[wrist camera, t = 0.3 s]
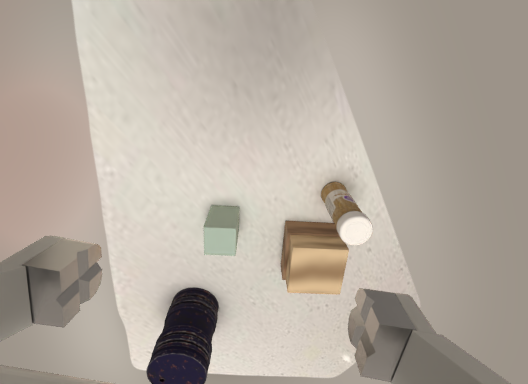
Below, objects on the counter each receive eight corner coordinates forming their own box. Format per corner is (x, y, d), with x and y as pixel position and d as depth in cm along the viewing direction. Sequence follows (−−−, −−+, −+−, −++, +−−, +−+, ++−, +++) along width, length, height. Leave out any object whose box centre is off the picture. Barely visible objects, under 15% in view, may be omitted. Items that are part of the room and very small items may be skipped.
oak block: (290, 234, 49) (292, 247, 46) (342, 236, 50) (348, 250, 46) (285, 277, 53) (287, 292, 49) (334, 278, 53) (339, 294, 49)
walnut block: (285, 220, 53) (287, 232, 49) (338, 222, 54) (345, 235, 50) (280, 264, 57) (282, 279, 53) (330, 266, 57) (336, 281, 53)
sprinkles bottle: (348, 182, 50) (377, 218, 38) (343, 206, 52) (369, 247, 40) (322, 180, 50) (343, 215, 38) (318, 204, 52) (336, 245, 39)
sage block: (211, 205, 52) (203, 227, 44) (239, 206, 52) (236, 228, 44) (211, 229, 54) (204, 254, 46) (238, 230, 54) (235, 255, 46)
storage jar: (203, 280, 58) (186, 345, 44) (227, 313, 61) (218, 383, 47) (162, 298, 59) (133, 366, 46) (187, 329, 63) (167, 401, 49)
